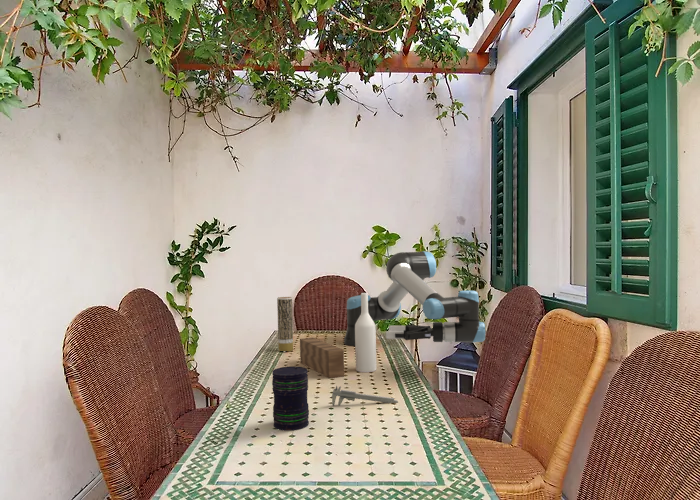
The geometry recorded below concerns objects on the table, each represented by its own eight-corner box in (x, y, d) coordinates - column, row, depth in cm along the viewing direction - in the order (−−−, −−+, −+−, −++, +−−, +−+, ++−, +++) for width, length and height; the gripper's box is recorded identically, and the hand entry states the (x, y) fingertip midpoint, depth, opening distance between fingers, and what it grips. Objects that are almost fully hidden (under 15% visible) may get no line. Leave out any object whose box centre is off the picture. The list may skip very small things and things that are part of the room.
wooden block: (300, 362, 219) (299, 338, 219) (313, 361, 222) (313, 337, 222) (329, 378, 192) (328, 351, 192) (344, 376, 195) (343, 349, 195)
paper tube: (294, 349, 248) (293, 296, 247) (291, 352, 241) (290, 298, 240) (280, 349, 248) (279, 296, 248) (277, 352, 241) (275, 298, 241)
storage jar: (294, 433, 137) (292, 376, 137) (265, 427, 143) (264, 372, 142) (316, 421, 146) (315, 368, 146) (288, 416, 151) (287, 364, 151)
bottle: (352, 371, 203) (350, 293, 202) (361, 366, 210) (359, 292, 210) (371, 373, 199) (369, 294, 199) (379, 368, 206) (378, 292, 206)
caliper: (332, 407, 160) (332, 386, 160) (332, 406, 161) (331, 385, 161) (398, 403, 162) (397, 383, 162) (397, 402, 163) (397, 382, 163)
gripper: (444, 348, 187) (385, 348, 190) (442, 336, 212) (390, 335, 215) (443, 327, 187) (384, 327, 190) (442, 317, 212) (389, 317, 215)
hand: (387, 332), depth 203 cm, fingers open, 13 cm apart
